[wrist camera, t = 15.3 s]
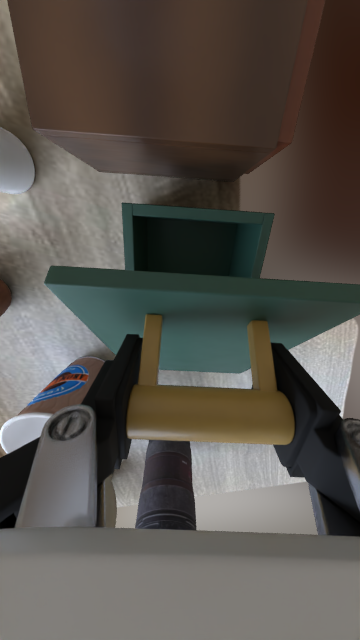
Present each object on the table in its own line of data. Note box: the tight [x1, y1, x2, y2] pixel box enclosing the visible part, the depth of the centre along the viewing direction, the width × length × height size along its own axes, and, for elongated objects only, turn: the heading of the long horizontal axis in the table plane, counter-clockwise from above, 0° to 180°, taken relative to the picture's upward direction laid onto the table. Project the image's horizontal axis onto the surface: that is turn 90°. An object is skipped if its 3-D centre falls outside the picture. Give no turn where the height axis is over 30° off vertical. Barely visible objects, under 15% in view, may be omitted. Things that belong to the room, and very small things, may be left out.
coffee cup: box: [0, 356, 105, 454], centre depth 27 cm, size 10×10×12 cm
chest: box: [122, 203, 275, 278], centre depth 22 cm, size 15×12×8 cm
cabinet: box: [7, 0, 308, 182], centre depth 14 cm, size 14×12×11 cm
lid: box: [44, 266, 360, 445], centre depth 13 cm, size 15×12×5 cm
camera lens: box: [135, 440, 196, 530], centre depth 32 cm, size 8×8×15 cm
